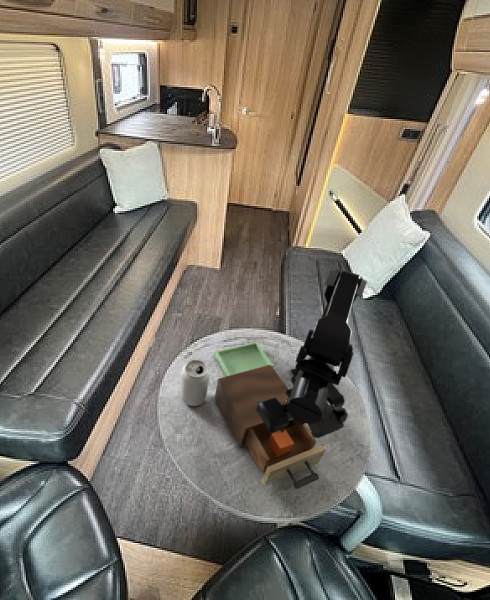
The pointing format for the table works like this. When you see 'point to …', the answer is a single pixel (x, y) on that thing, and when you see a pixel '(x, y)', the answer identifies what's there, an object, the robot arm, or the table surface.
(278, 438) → the cube
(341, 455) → the table surface
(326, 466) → the table surface
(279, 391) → the cabinet
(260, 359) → the tray
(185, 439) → the table surface
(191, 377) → the can
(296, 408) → the robot arm
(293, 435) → the drawer
